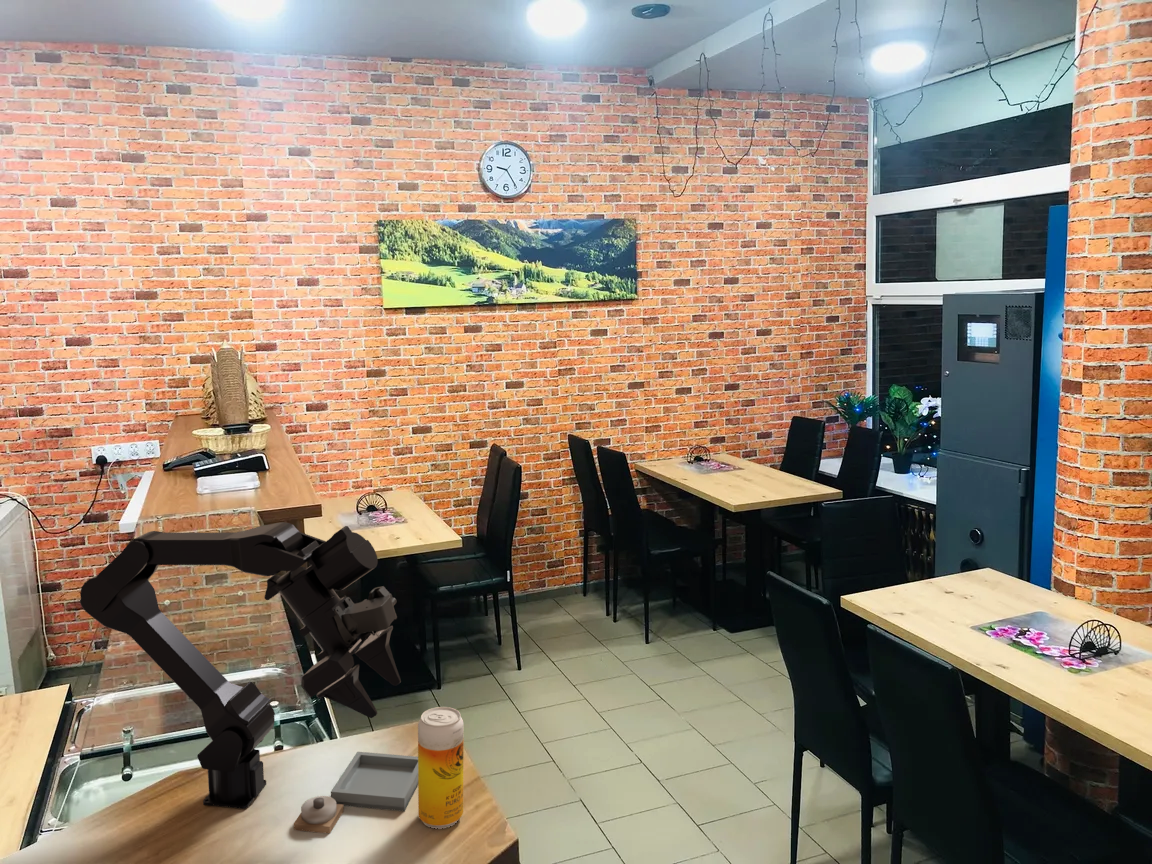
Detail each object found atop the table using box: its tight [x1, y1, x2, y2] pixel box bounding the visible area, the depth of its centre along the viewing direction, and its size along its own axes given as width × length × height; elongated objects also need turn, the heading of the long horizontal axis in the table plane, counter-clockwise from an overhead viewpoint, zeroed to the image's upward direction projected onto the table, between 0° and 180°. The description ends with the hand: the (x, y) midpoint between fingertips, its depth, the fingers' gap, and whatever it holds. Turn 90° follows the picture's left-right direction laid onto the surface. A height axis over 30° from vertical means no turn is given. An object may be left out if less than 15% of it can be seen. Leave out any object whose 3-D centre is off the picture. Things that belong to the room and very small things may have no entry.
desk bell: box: [293, 795, 345, 834], centre depth 120 cm, size 5×5×3 cm
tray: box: [330, 751, 418, 812], centre depth 128 cm, size 11×11×2 cm
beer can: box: [417, 706, 465, 830], centre depth 120 cm, size 6×6×15 cm
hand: (386, 699), depth 120 cm, fingers open, 9 cm apart
